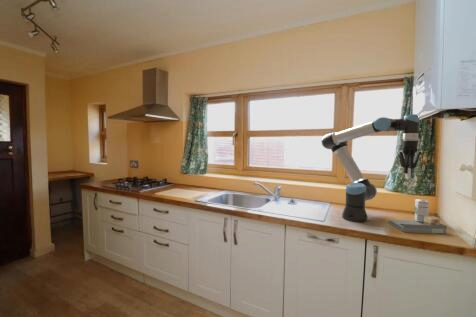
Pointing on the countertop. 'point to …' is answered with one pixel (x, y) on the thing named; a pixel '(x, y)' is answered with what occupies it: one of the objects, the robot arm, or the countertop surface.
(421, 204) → the syrup box
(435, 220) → the maple block
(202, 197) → the countertop surface
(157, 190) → the countertop surface
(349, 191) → the robot arm
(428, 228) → the trap board
